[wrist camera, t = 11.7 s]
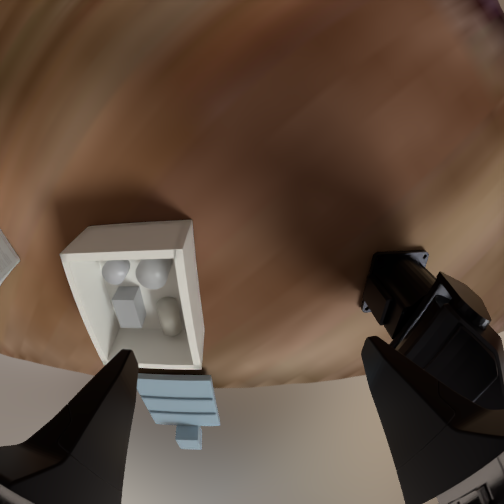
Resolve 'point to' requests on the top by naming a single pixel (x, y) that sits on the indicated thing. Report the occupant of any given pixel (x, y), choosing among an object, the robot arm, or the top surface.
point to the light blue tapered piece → (180, 404)
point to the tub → (139, 291)
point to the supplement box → (6, 257)
